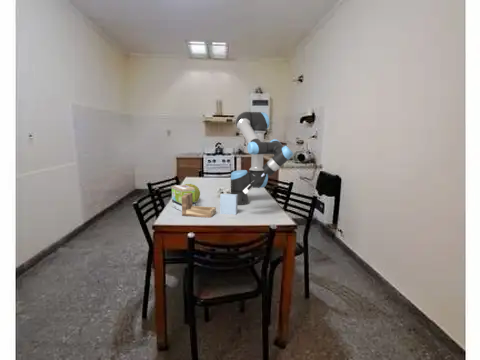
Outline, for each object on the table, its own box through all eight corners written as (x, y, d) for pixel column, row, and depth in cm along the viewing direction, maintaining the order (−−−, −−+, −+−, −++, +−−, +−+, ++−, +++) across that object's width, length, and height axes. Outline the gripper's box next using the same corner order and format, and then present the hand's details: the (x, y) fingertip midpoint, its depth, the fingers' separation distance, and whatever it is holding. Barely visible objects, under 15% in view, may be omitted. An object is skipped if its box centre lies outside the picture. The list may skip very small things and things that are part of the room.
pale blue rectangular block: (221, 212, 213) (221, 193, 212) (237, 213, 212) (237, 194, 210) (220, 213, 209) (220, 194, 207) (235, 214, 207) (236, 195, 206)
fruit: (194, 206, 227) (183, 187, 225) (180, 211, 236) (169, 192, 233) (207, 195, 240) (197, 177, 237) (194, 200, 249) (183, 182, 246)
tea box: (171, 207, 225) (171, 185, 222) (184, 205, 231) (184, 184, 228) (181, 211, 213) (181, 188, 210) (195, 209, 219) (195, 187, 216)
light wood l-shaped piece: (188, 211, 214) (188, 192, 212) (215, 212, 211) (216, 194, 209) (182, 215, 203) (181, 196, 201) (210, 217, 199) (210, 197, 197)
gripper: (273, 174, 189) (246, 198, 194) (276, 169, 213) (253, 191, 218) (264, 164, 189) (237, 189, 194) (268, 161, 214) (245, 183, 218)
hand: (245, 190), depth 206 cm, fingers open, 13 cm apart
